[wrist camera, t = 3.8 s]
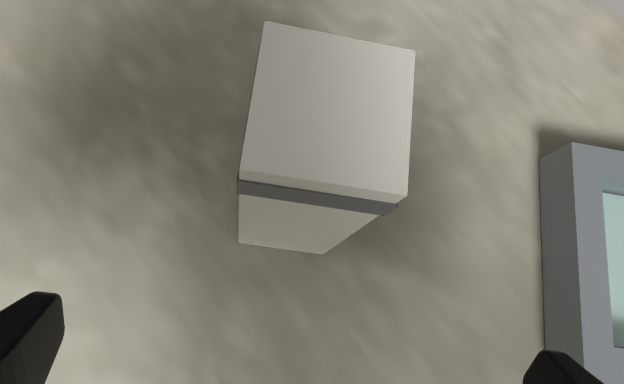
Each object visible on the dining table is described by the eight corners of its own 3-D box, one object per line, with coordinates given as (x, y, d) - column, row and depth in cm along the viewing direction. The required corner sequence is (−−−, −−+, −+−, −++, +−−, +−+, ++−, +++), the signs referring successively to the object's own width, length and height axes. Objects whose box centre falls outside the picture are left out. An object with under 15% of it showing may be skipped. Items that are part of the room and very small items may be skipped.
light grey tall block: (323, 255, 21) (409, 197, 11) (237, 243, 21) (237, 170, 10) (332, 174, 22) (417, 49, 12) (250, 161, 22) (262, 18, 11)
